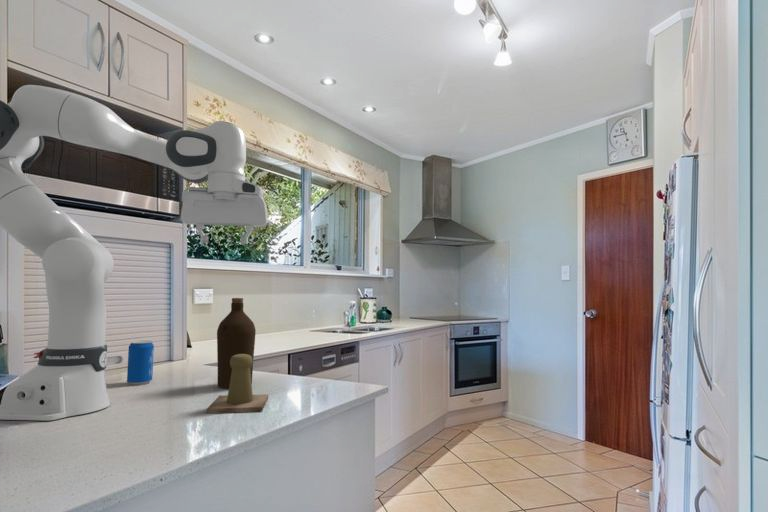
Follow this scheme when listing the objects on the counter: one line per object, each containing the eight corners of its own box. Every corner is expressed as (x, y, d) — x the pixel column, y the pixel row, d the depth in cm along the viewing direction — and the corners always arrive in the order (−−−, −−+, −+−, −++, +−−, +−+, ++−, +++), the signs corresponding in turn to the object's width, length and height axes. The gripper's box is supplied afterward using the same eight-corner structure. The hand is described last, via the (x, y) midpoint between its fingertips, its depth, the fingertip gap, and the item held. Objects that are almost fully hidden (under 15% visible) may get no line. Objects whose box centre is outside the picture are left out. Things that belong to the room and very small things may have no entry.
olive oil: (251, 389, 122) (254, 298, 124) (211, 390, 120) (214, 298, 122) (256, 380, 132) (258, 297, 134) (219, 381, 131) (222, 297, 132)
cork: (244, 405, 102) (246, 356, 102) (221, 403, 103) (223, 355, 104) (257, 398, 107) (259, 353, 108) (235, 397, 109) (237, 352, 110)
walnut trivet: (206, 413, 98) (207, 408, 98) (219, 399, 110) (219, 395, 110) (261, 411, 100) (262, 407, 100) (268, 398, 112) (268, 394, 112)
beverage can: (144, 385, 125) (146, 343, 126) (121, 385, 125) (124, 342, 126) (156, 380, 131) (158, 340, 132) (135, 380, 132) (137, 340, 132)
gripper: (178, 183, 104) (175, 241, 103) (266, 186, 107) (264, 243, 106) (186, 189, 111) (184, 243, 110) (269, 192, 114) (267, 245, 113)
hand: (224, 243), depth 108 cm, fingers open, 8 cm apart
